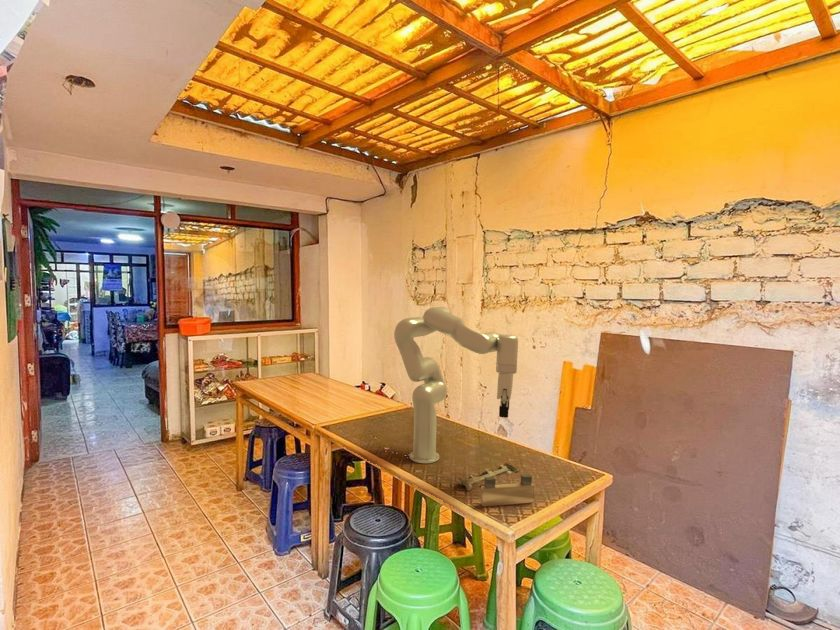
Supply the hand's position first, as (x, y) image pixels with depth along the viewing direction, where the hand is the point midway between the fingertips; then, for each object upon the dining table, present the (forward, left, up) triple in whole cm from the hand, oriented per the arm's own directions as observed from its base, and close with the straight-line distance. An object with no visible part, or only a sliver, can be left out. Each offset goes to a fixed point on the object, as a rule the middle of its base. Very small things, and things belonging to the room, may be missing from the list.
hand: (504, 413), depth 158 cm
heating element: (-2, -5, -26) cm, 27 cm away
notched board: (+17, -5, -26) cm, 31 cm away
